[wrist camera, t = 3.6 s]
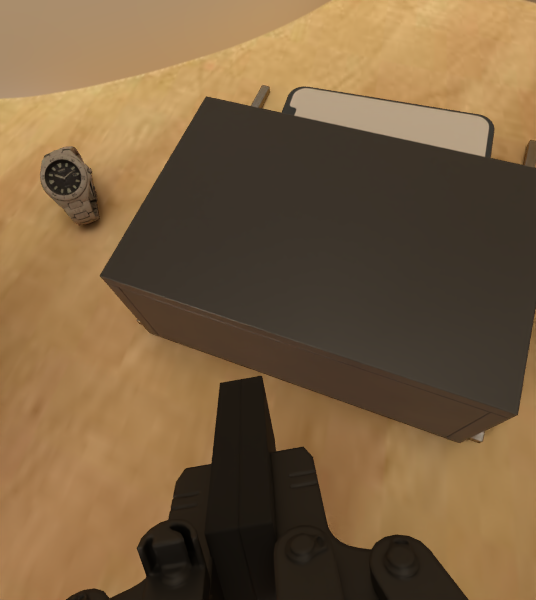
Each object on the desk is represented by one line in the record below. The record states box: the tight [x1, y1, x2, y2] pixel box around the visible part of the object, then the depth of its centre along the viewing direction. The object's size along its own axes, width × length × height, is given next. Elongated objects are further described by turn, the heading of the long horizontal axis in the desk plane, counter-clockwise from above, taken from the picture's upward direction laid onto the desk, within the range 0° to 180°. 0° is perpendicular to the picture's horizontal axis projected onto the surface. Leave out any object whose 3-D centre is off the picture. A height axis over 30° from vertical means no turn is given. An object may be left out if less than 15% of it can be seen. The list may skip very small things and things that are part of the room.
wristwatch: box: [40, 146, 100, 225], centre depth 34 cm, size 4×6×5 cm, turn 19°
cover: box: [100, 97, 536, 443], centre depth 27 cm, size 20×13×8 cm, turn 69°
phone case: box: [282, 87, 494, 158], centre depth 35 cm, size 9×2×16 cm
